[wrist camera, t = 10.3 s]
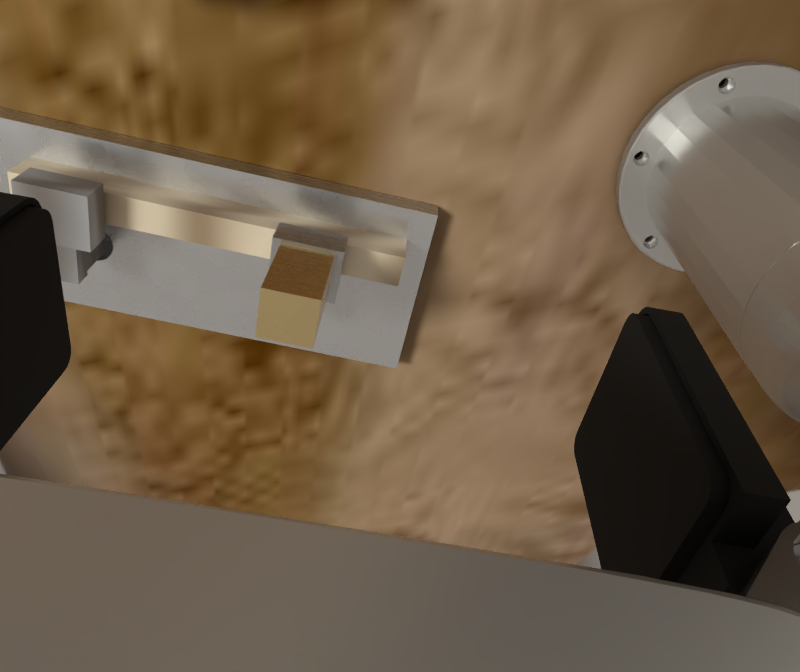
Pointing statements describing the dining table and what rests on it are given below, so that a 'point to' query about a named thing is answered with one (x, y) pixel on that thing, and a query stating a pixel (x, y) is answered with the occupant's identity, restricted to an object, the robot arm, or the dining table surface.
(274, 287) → the block
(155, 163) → the bolt plate
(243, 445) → the dining table surface
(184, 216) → the sliding bolt bar
